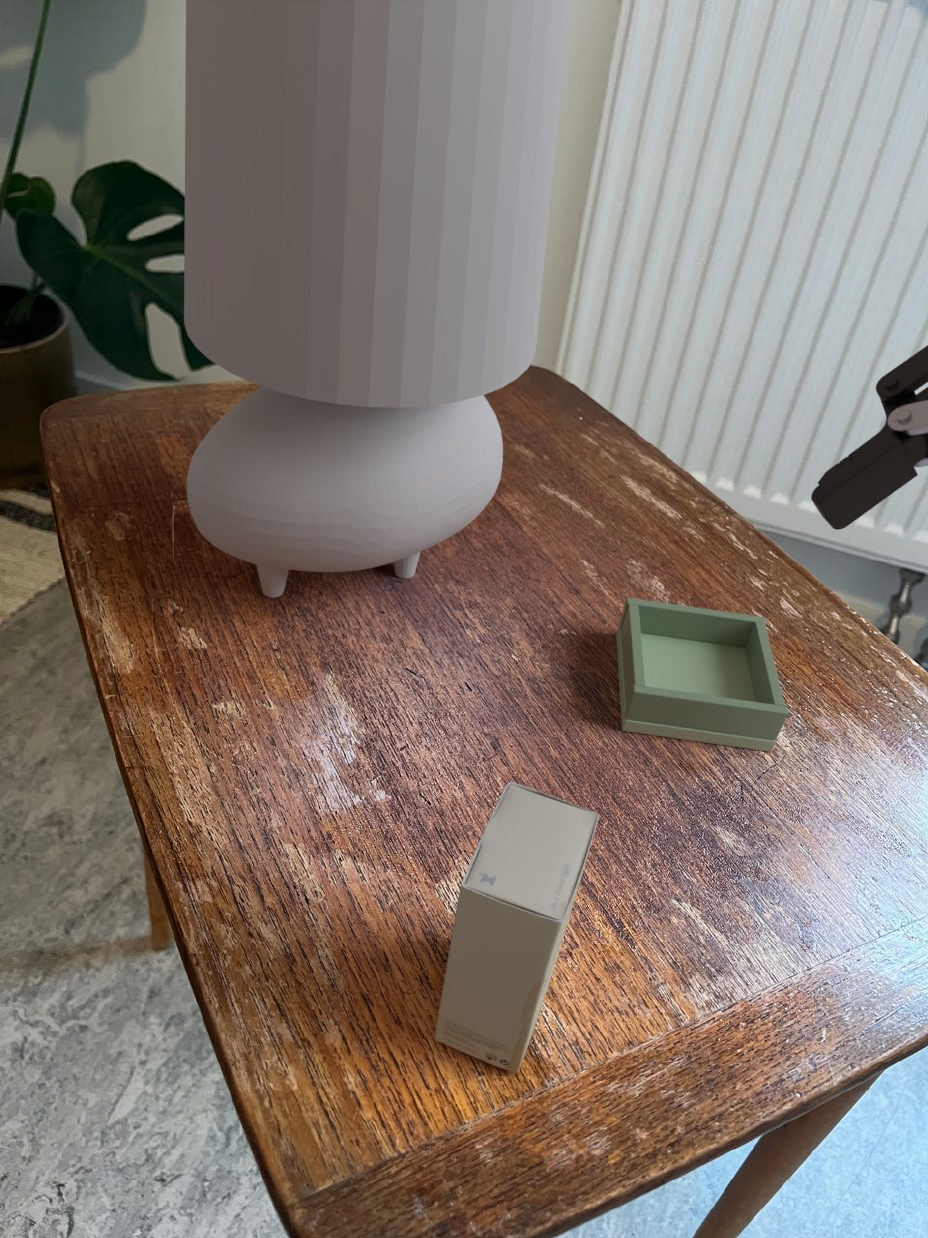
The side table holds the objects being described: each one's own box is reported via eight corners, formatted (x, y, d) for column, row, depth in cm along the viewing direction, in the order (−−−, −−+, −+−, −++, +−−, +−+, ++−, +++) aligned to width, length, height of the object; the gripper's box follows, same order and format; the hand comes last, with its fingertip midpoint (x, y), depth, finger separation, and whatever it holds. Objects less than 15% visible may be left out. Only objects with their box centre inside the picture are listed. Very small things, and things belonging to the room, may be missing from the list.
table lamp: (260, 711, 60) (239, -75, 34) (144, 526, 73) (66, -142, 47) (553, 612, 71) (702, -40, 45) (406, 467, 84) (457, -102, 58)
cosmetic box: (517, 1078, 44) (565, 932, 36) (428, 1040, 45) (456, 888, 37) (556, 964, 49) (605, 812, 41) (474, 931, 50) (508, 776, 42)
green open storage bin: (771, 752, 62) (789, 714, 60) (621, 731, 62) (634, 692, 60) (749, 652, 70) (764, 615, 68) (615, 633, 70) (626, 596, 68)
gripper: (1138, 116, 33) (748, 421, 38) (1590, 275, 23) (986, 669, 27) (1165, 270, 38) (817, 524, 42) (1550, 458, 28) (1041, 768, 32)
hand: (884, 581), depth 35 cm, fingers open, 8 cm apart
